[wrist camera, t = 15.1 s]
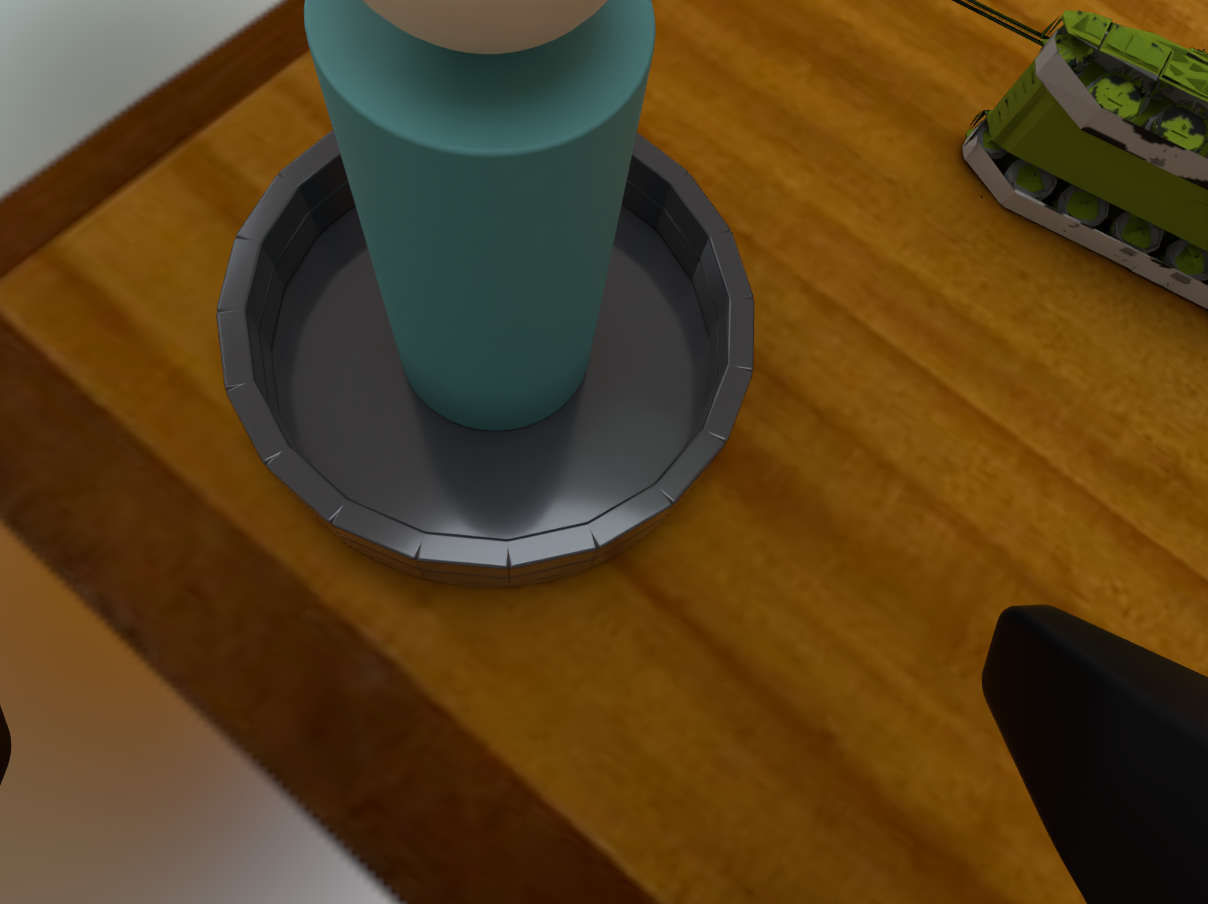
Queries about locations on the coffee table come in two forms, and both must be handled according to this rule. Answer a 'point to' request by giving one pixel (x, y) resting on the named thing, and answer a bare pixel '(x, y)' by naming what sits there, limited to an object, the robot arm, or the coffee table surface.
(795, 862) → the coffee table surface
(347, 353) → the round grey tray
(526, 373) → the wooden doll
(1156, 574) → the coffee table surface
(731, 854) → the coffee table surface
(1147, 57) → the toy tank
